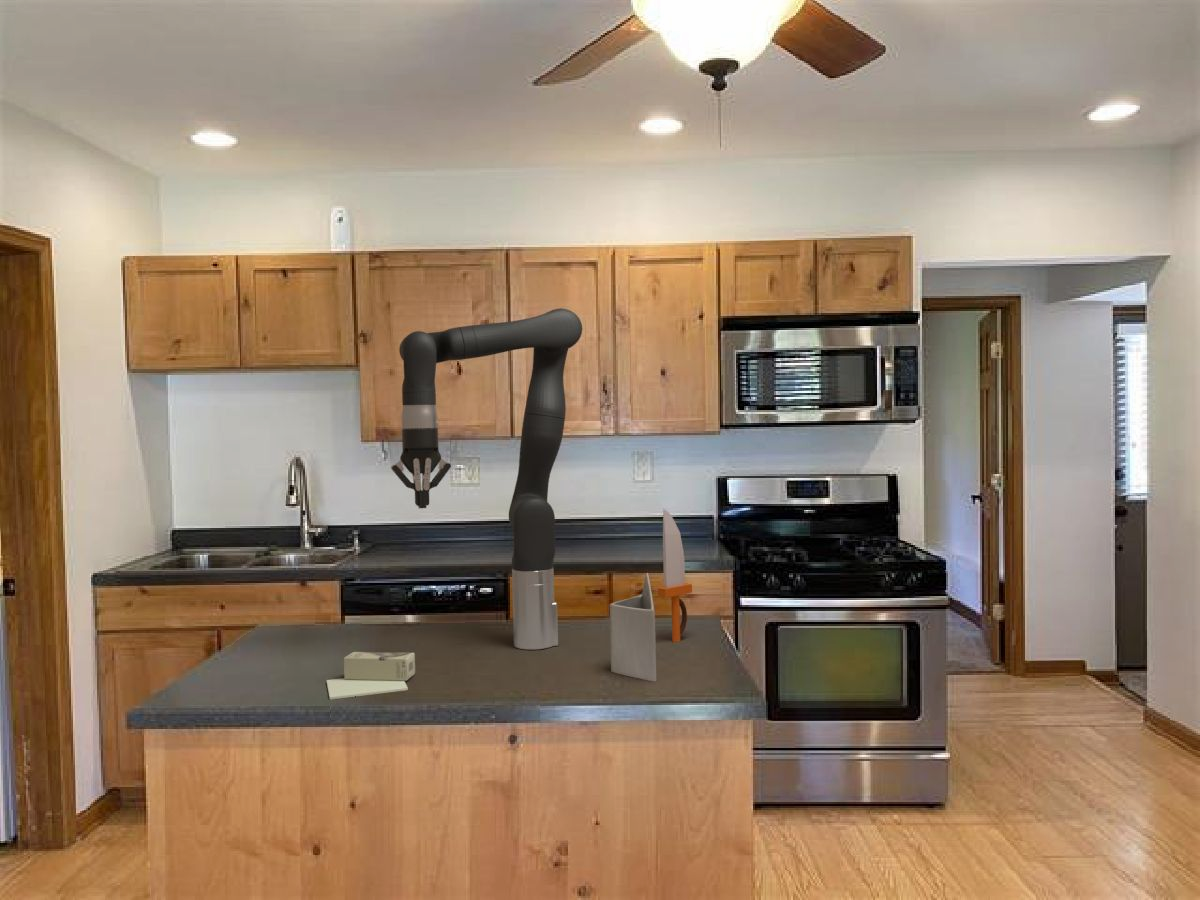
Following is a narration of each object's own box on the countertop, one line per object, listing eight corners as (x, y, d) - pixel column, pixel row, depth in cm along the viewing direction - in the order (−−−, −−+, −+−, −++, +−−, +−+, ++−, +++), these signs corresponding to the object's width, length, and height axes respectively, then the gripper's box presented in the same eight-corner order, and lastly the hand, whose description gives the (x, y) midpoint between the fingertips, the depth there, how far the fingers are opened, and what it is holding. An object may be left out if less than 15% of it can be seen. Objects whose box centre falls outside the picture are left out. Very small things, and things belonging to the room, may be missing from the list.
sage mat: (399, 673, 178) (399, 671, 178) (407, 690, 167) (407, 688, 167) (326, 682, 174) (326, 680, 174) (329, 699, 162) (329, 697, 162)
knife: (666, 645, 196) (663, 509, 195) (658, 643, 198) (655, 508, 197) (693, 639, 201) (690, 506, 200) (685, 637, 203) (682, 505, 202)
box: (407, 658, 171) (342, 657, 173) (407, 681, 172) (343, 680, 173) (415, 651, 177) (353, 650, 178) (416, 673, 177) (353, 672, 178)
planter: (607, 661, 185) (605, 567, 184) (645, 659, 185) (643, 566, 185) (614, 683, 168) (612, 581, 168) (656, 681, 169) (654, 580, 168)
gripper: (447, 426, 195) (450, 505, 196) (386, 427, 191) (388, 508, 191) (454, 425, 188) (456, 507, 189) (390, 427, 184) (392, 511, 184)
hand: (422, 507), depth 190 cm, fingers closed
